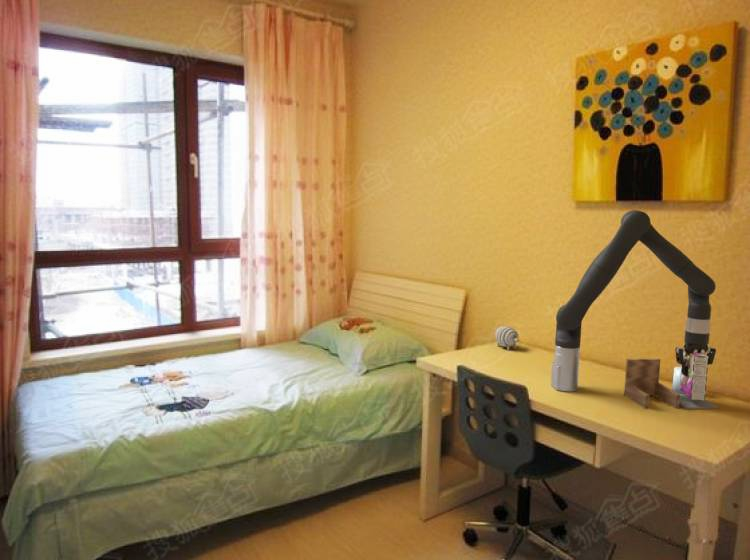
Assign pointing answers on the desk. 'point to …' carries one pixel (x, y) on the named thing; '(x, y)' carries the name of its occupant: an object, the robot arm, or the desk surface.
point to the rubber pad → (695, 403)
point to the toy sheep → (506, 337)
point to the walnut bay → (647, 383)
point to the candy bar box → (695, 377)
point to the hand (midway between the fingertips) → (693, 375)
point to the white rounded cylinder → (677, 380)
